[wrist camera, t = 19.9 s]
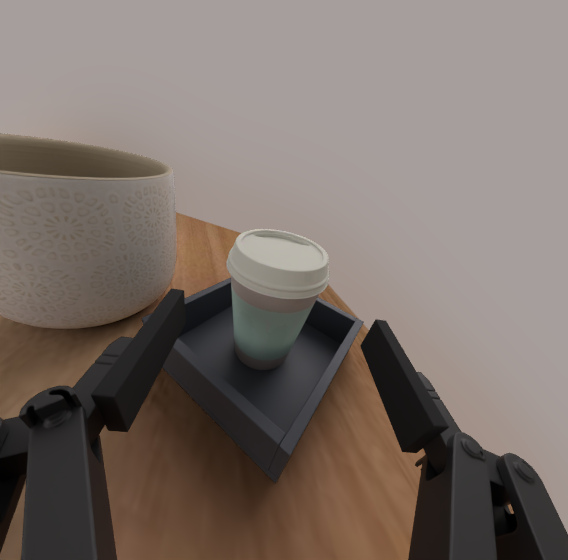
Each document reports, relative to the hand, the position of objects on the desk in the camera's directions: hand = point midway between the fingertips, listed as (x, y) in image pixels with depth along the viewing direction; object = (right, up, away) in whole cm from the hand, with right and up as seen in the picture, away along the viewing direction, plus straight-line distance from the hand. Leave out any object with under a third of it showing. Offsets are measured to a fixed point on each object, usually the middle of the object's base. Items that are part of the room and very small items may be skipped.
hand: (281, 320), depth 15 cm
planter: (-22, +1, +11) cm, 25 cm away
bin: (-2, -5, +9) cm, 11 cm away
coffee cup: (-2, -5, +9) cm, 10 cm away
